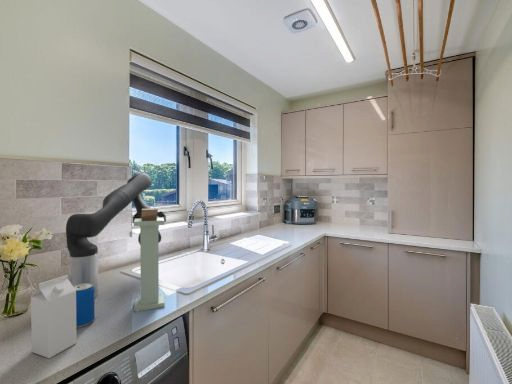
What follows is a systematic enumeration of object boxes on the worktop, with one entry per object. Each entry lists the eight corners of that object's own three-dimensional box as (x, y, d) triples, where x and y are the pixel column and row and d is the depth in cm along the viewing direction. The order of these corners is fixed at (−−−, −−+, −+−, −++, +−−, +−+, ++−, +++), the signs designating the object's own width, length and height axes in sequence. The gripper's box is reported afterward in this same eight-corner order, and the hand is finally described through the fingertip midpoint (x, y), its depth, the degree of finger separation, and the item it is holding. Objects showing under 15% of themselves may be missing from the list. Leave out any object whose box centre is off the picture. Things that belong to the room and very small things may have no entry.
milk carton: (31, 352, 68) (30, 281, 67) (60, 337, 75) (59, 273, 74) (48, 359, 65) (47, 285, 65) (76, 343, 72) (76, 276, 72)
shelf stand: (164, 308, 93) (164, 220, 92) (134, 313, 89) (133, 221, 88) (163, 297, 101) (163, 217, 101) (135, 302, 98) (135, 218, 97)
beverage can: (90, 315, 87) (90, 281, 87) (97, 322, 83) (97, 285, 83) (67, 323, 82) (67, 286, 82) (74, 331, 78) (73, 292, 78)
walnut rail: (156, 220, 92) (156, 209, 92) (141, 221, 90) (141, 209, 90) (155, 215, 107) (155, 206, 107) (142, 216, 105) (142, 206, 105)
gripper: (132, 219, 114) (129, 201, 100) (166, 217, 119) (168, 201, 105) (132, 235, 111) (129, 219, 97) (166, 232, 116) (168, 217, 102)
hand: (149, 210), depth 101 cm, fingers closed on walnut rail, 3 cm apart
